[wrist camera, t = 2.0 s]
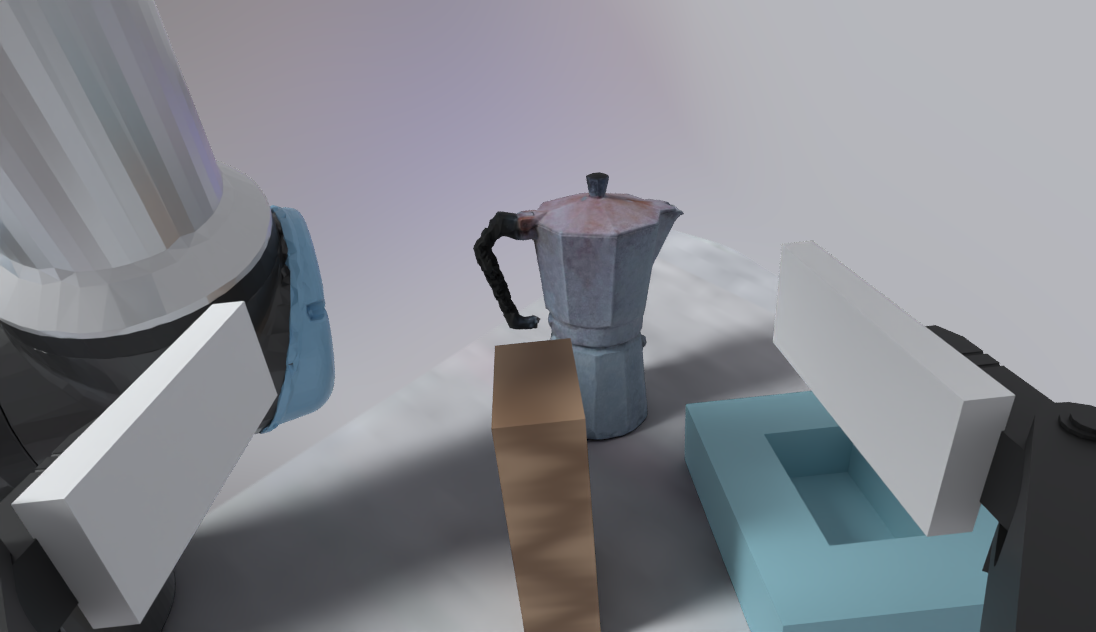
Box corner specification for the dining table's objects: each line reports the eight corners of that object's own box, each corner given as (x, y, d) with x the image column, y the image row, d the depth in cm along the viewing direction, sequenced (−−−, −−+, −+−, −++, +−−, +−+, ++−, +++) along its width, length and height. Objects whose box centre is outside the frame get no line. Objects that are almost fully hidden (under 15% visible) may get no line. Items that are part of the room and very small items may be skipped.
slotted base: (773, 691, 30) (783, 625, 27) (684, 459, 45) (685, 404, 42) (1056, 660, 30) (1089, 592, 27) (872, 439, 45) (883, 383, 42)
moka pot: (703, 423, 48) (713, 174, 39) (515, 470, 45) (477, 213, 36) (653, 363, 56) (652, 146, 47) (492, 400, 53) (456, 176, 44)
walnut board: (527, 651, 33) (491, 428, 26) (524, 547, 39) (495, 345, 32) (601, 643, 33) (585, 418, 26) (586, 540, 39) (570, 338, 32)
